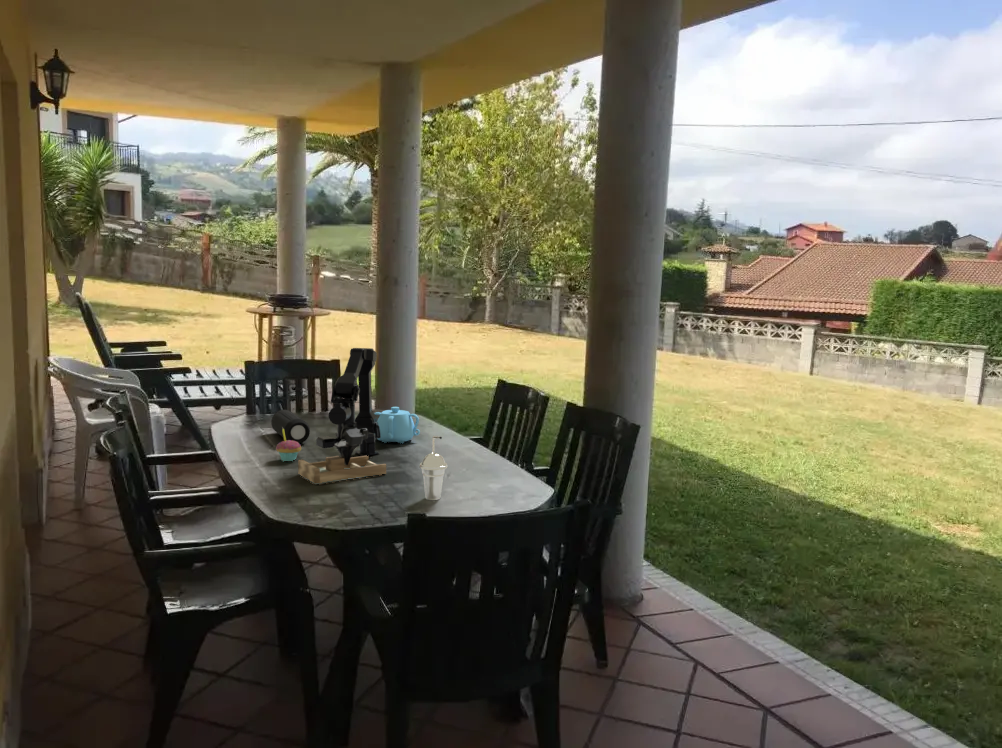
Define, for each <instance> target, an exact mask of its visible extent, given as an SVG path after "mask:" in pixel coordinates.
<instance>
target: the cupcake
mask: <svg viewBox="0 0 1002 748" xmlns="http://www.w3.org/2000/svg"><path fill="white" fill-rule="evenodd" d="M282 428H283V427H282ZM282 431H283V437H284V438H283V437H282V438H283V440H282V441H280V442H278V444H276V447H275V449H276V451H277V453H278V454H279V456H280V459H281V461H282V460H283V461H282V462H284V461H292V462H294V461H293V460H295V459H296V460H297V456H298V454H299V452H301V451H302V446H301V445H302V443H301V444H299V443H298V442H296V441H293V440H292V441H291V440H286V437H285V431H284V429H282ZM296 460H295V461H296Z"/></svg>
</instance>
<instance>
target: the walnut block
mask: <svg viewBox="0 0 1002 748" xmlns="http://www.w3.org/2000/svg"><path fill="white" fill-rule="evenodd" d="M325 461H326V470H328V471H336V470H343V469H344V458H342V457H341V455H340V456H339V455H335V456H326V457H325Z"/></svg>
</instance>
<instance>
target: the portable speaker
mask: <svg viewBox="0 0 1002 748" xmlns="http://www.w3.org/2000/svg"><path fill="white" fill-rule="evenodd" d="M270 423H271V424H270V425H271V428H272V429H273V430H274V431H275V433H277V434H278V435H280V436H281V437H282V438H283V439H284V437H283V431H282V429H284V431H285V437H286V441H287V440H291V441H292V440H293V441H296V442H298V443H301V444H303V443H305V442H306V441H307V440H308V438H309V437H310V433H311V428H310V425H309V423H308V422H307V421H306V420H304V419H302V418H301V417H299V416H298V415H296V414H294V413H293V412H292V411H291V410H288V409H280V410H277V411H276V412H275V413H274V414H273V416H272V417H271V421H270ZM282 427H283V428H282Z"/></svg>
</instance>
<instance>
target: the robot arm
mask: <svg viewBox="0 0 1002 748" xmlns="http://www.w3.org/2000/svg"><path fill="white" fill-rule="evenodd" d="M377 358H378V355H377V351H375V350H374V348H369V347H365V348H364V347H353V348H350V350H349V358H348V361H347V364H346V367H345V369H344V372H343V374H342V375H341V376H339V377H338V378H337V380H336V382H335V383H334V384H333V386H332V387H333V388H332V391H331V392H332V393H331V399H330V403H331V404H334V406H333V408H331V409H330V410H329V412H328V419H329V421H330V422H331V423H332V424H334V425H337V426H336V428H337V430H336V433H335V437H331V436H329V435H323V436H318V437H317V439H316V440H315V441H316V443H315V444H316V446H317V447H319V448H322V449H331V448H334V447H335V448H336V449H337V451H338V453H339V455H340V457H342V458H344V464H345V465H348V463H349V460H350V458H352V454H353V453H354V450H355V449H356V448H357V447H359V450H356V451H355V453H356V454H358V455H360V456H367V455H368V456H374V455H380V452H378V451H376V440H378V438H381V433H380V427H379V425H378V422H377V421H378V418H377V415H375V414H374V413H375V412H374V411H373V405H372V402H373V399H372V397H373V396H372V395H373V394H372V371H373V369H374V367H375V366H376V362H377ZM356 402H358V409H359V411H358V413H357V415H356Z"/></svg>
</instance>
